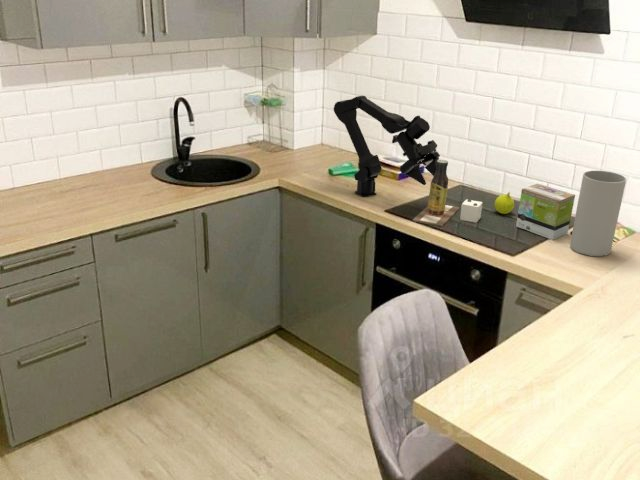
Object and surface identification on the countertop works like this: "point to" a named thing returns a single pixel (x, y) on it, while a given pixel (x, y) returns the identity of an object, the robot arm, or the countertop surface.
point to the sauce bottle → (438, 189)
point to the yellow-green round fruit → (504, 204)
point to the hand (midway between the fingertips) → (432, 181)
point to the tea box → (545, 211)
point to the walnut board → (436, 216)
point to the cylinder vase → (597, 212)
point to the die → (471, 210)
